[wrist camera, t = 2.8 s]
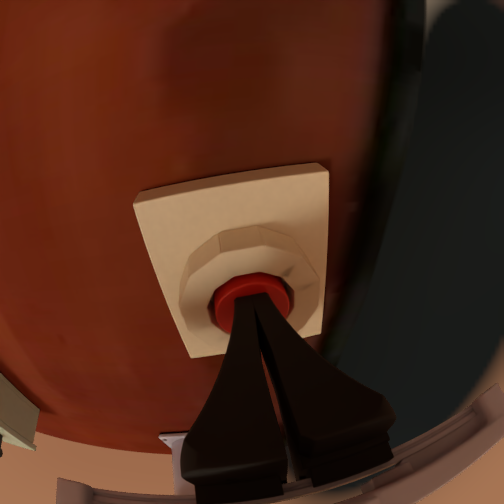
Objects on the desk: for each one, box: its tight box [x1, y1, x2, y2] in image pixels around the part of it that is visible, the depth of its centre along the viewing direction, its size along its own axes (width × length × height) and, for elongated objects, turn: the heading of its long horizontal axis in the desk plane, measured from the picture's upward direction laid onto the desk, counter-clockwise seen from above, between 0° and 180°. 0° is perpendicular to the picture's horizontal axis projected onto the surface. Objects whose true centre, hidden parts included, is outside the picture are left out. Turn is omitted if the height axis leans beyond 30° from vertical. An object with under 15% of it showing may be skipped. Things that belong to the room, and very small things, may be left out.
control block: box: [133, 163, 329, 358], centre depth 13 cm, size 10×8×3 cm
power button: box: [213, 272, 289, 333], centre depth 13 cm, size 3×3×2 cm
